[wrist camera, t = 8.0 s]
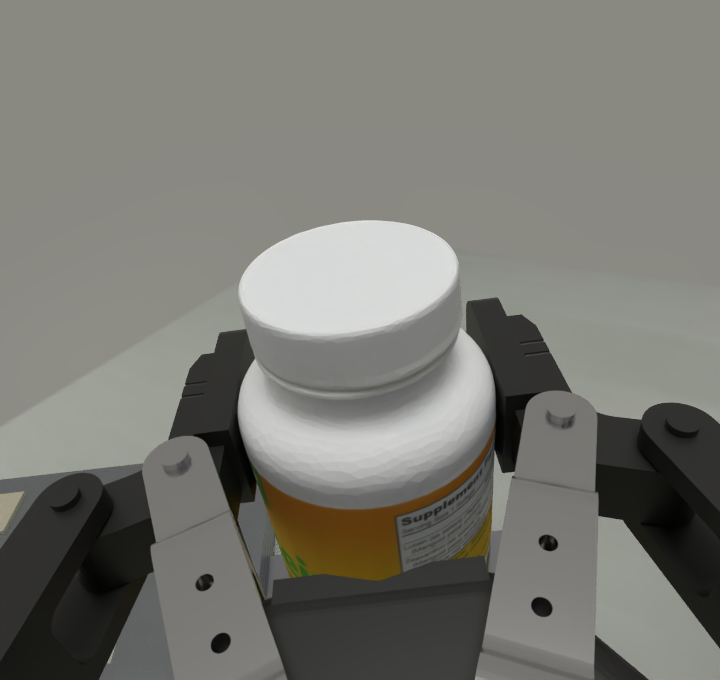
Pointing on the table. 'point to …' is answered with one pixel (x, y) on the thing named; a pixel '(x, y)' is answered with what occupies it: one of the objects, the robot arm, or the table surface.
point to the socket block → (145, 623)
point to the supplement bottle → (366, 402)
